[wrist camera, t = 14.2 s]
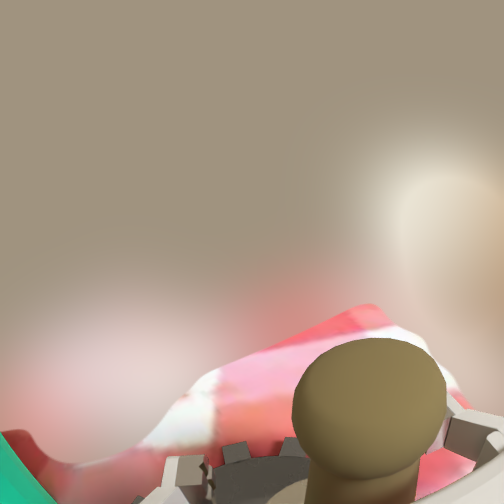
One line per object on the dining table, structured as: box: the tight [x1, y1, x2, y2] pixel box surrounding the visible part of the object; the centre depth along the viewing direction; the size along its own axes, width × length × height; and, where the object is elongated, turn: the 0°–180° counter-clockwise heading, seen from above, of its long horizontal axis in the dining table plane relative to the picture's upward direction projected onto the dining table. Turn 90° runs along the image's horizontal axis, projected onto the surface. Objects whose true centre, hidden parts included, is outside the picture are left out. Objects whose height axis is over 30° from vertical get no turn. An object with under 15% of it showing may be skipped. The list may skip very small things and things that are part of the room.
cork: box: [292, 338, 447, 504], centre depth 10 cm, size 6×6×11 cm
